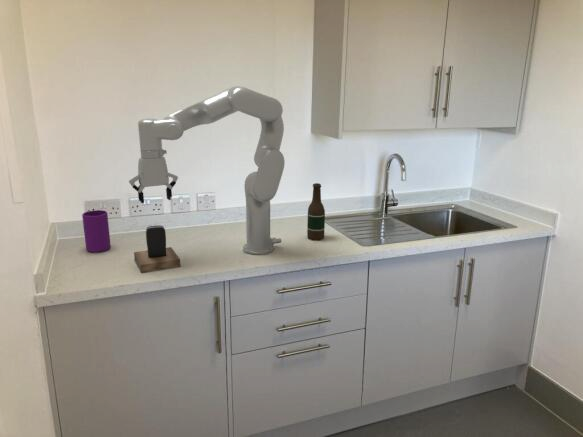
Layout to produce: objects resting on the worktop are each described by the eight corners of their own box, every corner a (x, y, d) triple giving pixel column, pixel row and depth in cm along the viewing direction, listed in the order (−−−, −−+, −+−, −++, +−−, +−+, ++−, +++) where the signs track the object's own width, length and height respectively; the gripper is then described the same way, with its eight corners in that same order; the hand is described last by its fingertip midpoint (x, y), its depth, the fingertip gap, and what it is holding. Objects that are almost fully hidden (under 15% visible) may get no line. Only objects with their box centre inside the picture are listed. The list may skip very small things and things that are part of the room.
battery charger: (166, 252, 186) (164, 223, 182) (167, 256, 182) (165, 226, 179) (147, 254, 183) (144, 225, 180) (147, 258, 180) (145, 228, 177)
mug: (87, 254, 191) (82, 217, 187) (84, 242, 205) (80, 207, 200) (112, 251, 195) (108, 214, 191) (107, 239, 208) (104, 205, 204)
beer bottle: (304, 239, 211) (305, 184, 204) (310, 234, 218) (311, 181, 211) (321, 242, 208) (322, 186, 202) (326, 236, 215) (328, 182, 208)
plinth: (171, 254, 192) (171, 247, 192) (180, 266, 180) (179, 259, 180) (134, 259, 186) (133, 252, 186) (141, 272, 174) (140, 265, 174)
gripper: (173, 151, 182) (176, 195, 187) (124, 154, 174) (129, 201, 179) (178, 154, 176) (181, 200, 181) (128, 158, 168) (133, 206, 173)
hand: (155, 200), depth 180 cm, fingers open, 9 cm apart
